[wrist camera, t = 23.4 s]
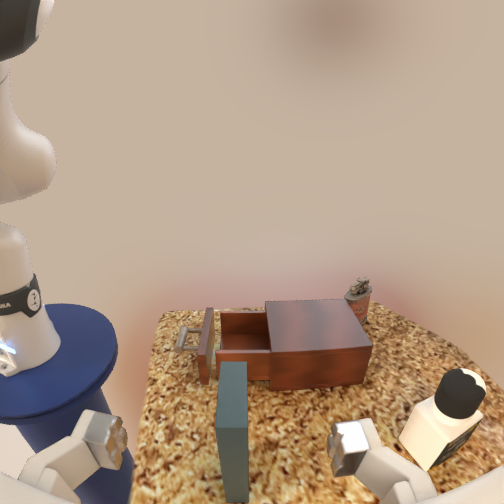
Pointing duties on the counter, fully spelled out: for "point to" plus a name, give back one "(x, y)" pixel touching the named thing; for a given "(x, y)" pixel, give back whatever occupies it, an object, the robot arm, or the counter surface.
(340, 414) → the counter surface
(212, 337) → the drawer
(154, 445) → the counter surface
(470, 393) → the medicine bottle
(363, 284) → the lighter
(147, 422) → the counter surface
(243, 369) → the dark teal rectangular block
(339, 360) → the cabinet
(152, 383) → the counter surface
